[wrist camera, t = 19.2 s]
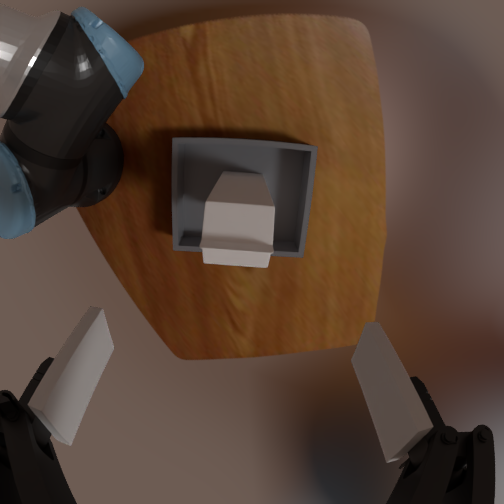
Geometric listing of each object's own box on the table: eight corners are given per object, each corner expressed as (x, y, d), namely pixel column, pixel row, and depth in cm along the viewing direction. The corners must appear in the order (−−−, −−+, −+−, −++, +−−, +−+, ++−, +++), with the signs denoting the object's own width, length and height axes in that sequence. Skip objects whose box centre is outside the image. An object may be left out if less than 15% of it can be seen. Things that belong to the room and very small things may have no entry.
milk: (223, 170, 40) (198, 209, 20) (263, 174, 41) (279, 215, 21) (220, 209, 43) (197, 280, 23) (259, 212, 43) (270, 286, 23)
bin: (180, 238, 46) (173, 250, 41) (180, 137, 39) (172, 137, 34) (297, 244, 46) (303, 257, 42) (309, 144, 40) (317, 146, 35)
